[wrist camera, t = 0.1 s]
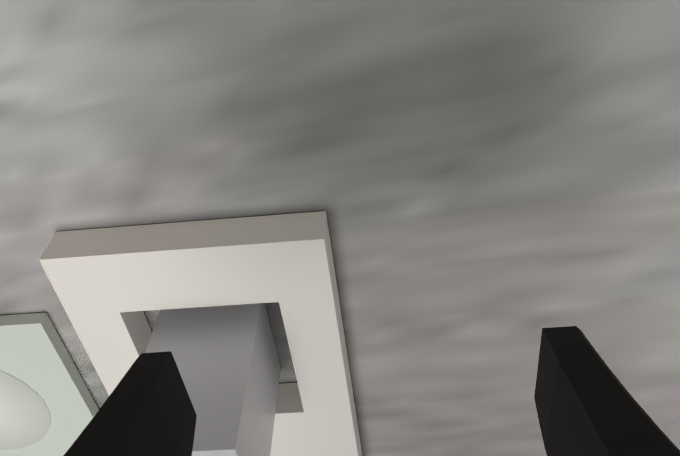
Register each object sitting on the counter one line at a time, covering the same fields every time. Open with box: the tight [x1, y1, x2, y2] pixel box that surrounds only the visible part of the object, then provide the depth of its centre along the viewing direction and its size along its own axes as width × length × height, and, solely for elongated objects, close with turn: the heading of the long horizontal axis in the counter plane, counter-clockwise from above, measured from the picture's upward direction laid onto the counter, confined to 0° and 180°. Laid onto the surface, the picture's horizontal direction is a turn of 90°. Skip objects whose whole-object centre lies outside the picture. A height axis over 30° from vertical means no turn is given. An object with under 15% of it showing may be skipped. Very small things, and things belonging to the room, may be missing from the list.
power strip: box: [39, 211, 362, 456], centre depth 27 cm, size 18×10×2 cm, turn 6°
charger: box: [145, 303, 281, 456], centre depth 24 cm, size 4×4×7 cm
